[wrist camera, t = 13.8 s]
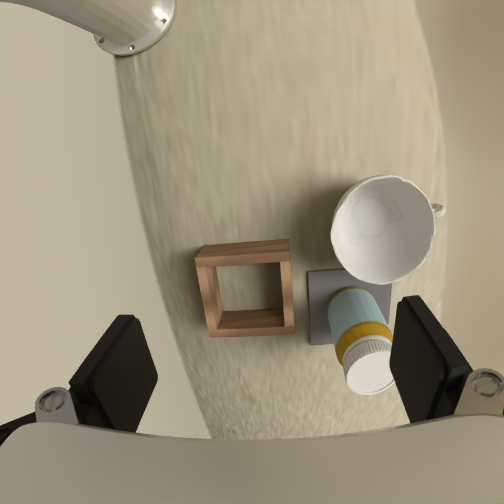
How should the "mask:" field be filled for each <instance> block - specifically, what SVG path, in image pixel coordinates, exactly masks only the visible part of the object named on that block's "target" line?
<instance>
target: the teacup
mask: <svg viewBox="0 0 504 504" xmlns="http://www.w3.org/2000/svg"><path fill="white" fill-rule="evenodd" d="M433 209H437V210H435V211H433ZM444 213H445V207H444V206H442V205H440V204H430V202H429V200H428V197H426V195H425V194H424V193H423V192H422V191H421V190H420V189H419V188H418V187H417V186H416V185H415V184H413V183H412V182H411V181H410V180H406V179H404V178H401V177H400V176H396V175H377V176H372V177H369V178H366V179H364V180H362V181H359V182H358V183H356V184H355V185H353V186H352V187H351V188H350V189H349V190H348V191H347V192H346V193H345V194H344V195H343V196H342V198H341V199H340V201H339V203H338V205H337V207H336V209H335V212H334V216H333V220H332V229H331V233H330V235H331V242H332V246H333V250H334V253H335V255H336V257H337V259H338V261H339V262H340V263H341V265H342V266H343V267H344V268H345V269H346V270H347V271H348V272H349V273H350V274H351V275H352V276H354V277H356V278H357V279H359V280H361V281H364V282H367V283H373V284H379V285H384V284H390V283H393V282H396V281H398V280H400V279H404V278H405V277H406V276H408V275H410V274H411V273H413V272H414V271H415V270H416V269H417V268H418V267H419V266H420V265H421V264H422V263H423V262H424V260H425V259H426V257H427V255H428V253H429V251H430V249H431V247H432V240H433V237H434V234H435V230H436V222H435V218H438V217H441V216H443V215H444Z"/></svg>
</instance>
